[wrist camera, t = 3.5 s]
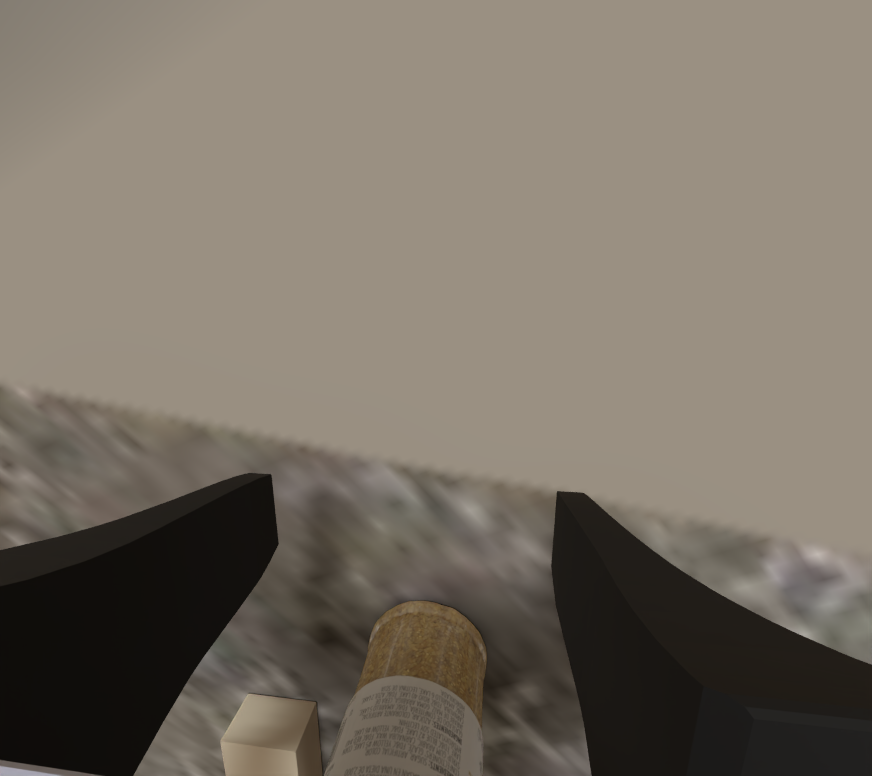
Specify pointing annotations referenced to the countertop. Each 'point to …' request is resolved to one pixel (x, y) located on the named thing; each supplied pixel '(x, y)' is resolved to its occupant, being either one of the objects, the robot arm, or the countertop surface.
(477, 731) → the sprinkles bottle
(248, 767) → the wooden bar with disc
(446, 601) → the countertop surface
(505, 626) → the countertop surface
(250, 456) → the countertop surface
